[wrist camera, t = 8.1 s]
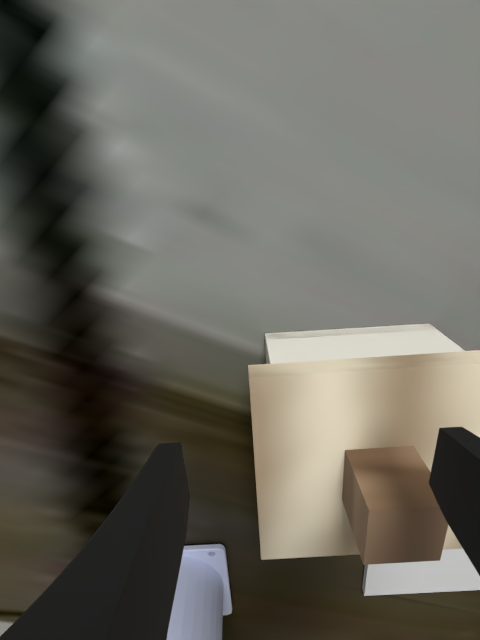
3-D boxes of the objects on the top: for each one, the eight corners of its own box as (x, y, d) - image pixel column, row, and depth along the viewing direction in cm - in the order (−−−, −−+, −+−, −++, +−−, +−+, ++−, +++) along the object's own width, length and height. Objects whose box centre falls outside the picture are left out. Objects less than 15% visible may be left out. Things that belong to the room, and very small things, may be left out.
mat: (362, 588, 28) (364, 595, 27) (376, 464, 23) (379, 470, 22) (525, 580, 28) (530, 587, 27) (576, 453, 23) (583, 459, 22)
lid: (259, 541, 19) (265, 629, 15) (248, 365, 15) (252, 428, 11) (463, 529, 19) (518, 615, 15) (509, 348, 15) (602, 406, 11)
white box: (269, 459, 23) (277, 522, 18) (264, 333, 19) (272, 377, 15) (408, 451, 22) (447, 513, 18) (429, 323, 19) (483, 364, 15)
